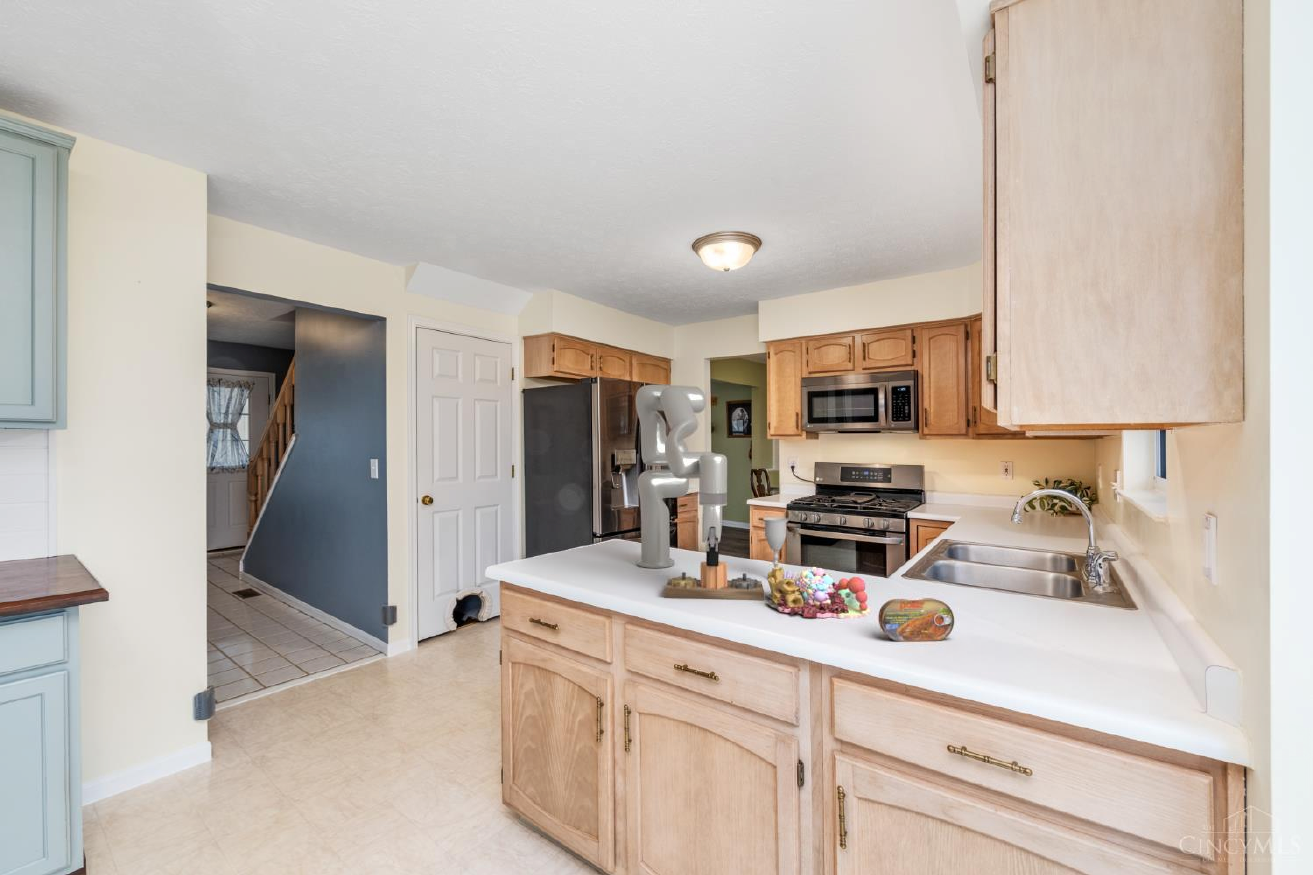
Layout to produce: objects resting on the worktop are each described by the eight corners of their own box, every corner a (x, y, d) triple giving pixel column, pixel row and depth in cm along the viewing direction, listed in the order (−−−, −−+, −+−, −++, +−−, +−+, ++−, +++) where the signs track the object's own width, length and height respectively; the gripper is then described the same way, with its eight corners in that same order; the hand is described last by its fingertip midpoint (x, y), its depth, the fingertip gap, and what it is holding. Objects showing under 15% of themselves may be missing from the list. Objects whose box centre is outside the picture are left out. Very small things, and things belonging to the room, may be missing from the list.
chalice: (787, 577, 171) (786, 517, 172) (790, 582, 165) (789, 520, 165) (762, 576, 172) (761, 517, 172) (764, 582, 165) (763, 520, 165)
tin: (882, 642, 116) (882, 601, 116) (876, 637, 119) (876, 596, 119) (955, 641, 117) (955, 600, 117) (947, 635, 120) (946, 595, 120)
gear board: (668, 586, 162) (668, 567, 162) (761, 588, 159) (761, 569, 159) (664, 597, 150) (664, 577, 150) (764, 600, 147) (764, 579, 147)
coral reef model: (781, 622, 130) (781, 582, 130) (754, 594, 154) (754, 560, 154) (886, 618, 132) (885, 578, 132) (844, 591, 156) (843, 558, 156)
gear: (701, 581, 159) (701, 560, 159) (727, 582, 158) (726, 560, 158) (700, 588, 152) (700, 565, 152) (727, 588, 151) (727, 566, 151)
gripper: (700, 495, 164) (700, 554, 164) (697, 503, 147) (697, 569, 147) (726, 495, 163) (726, 554, 163) (727, 503, 146) (726, 570, 146)
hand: (712, 561), depth 155 cm, fingers open, 9 cm apart
